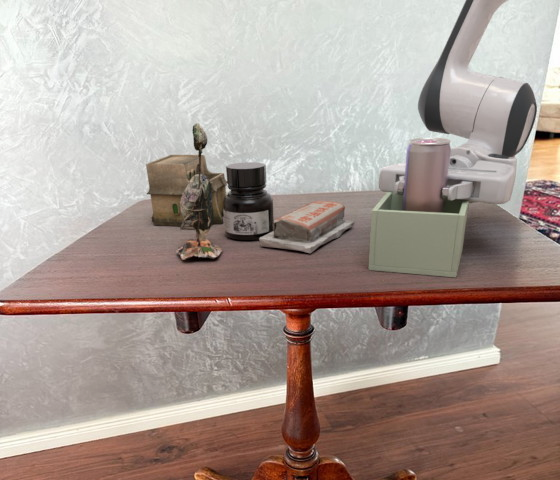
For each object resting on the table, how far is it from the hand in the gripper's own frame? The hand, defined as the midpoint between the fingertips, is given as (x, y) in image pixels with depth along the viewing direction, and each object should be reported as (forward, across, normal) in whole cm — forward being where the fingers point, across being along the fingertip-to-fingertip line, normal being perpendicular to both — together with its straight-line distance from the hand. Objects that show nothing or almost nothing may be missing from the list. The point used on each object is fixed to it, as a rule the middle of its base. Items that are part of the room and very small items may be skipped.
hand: (422, 191), depth 78 cm
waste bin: (-1, 0, +10) cm, 11 cm away
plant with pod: (+15, -32, +10) cm, 37 cm away
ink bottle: (+2, -32, +10) cm, 34 cm away
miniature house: (0, -49, +10) cm, 50 cm away
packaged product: (-2, -22, +11) cm, 24 cm away
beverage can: (-1, 0, +8) cm, 9 cm away
